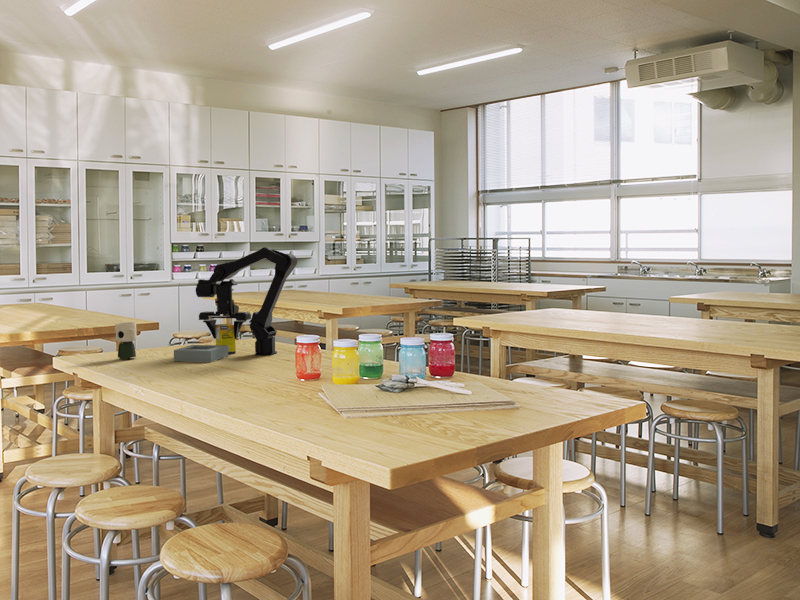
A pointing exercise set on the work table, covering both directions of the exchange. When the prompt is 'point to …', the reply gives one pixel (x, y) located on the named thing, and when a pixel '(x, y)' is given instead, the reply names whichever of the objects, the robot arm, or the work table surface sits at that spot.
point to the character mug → (126, 339)
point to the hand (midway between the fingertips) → (225, 338)
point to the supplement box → (226, 336)
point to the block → (201, 353)
